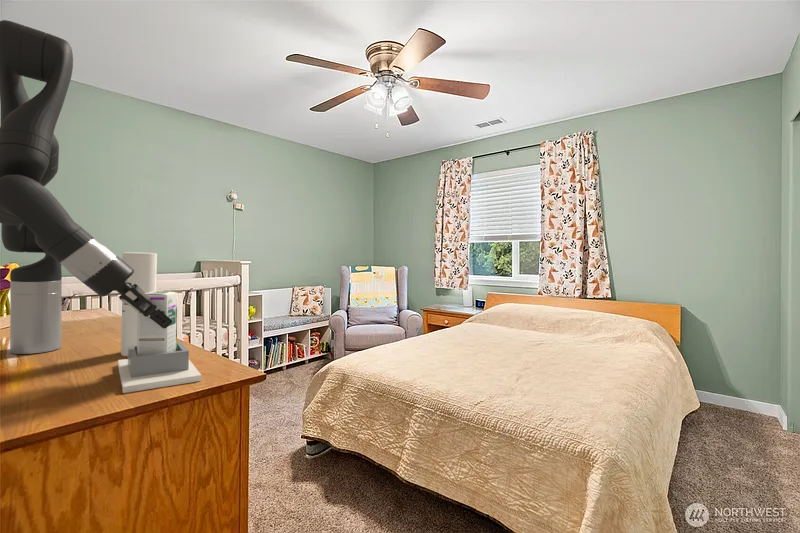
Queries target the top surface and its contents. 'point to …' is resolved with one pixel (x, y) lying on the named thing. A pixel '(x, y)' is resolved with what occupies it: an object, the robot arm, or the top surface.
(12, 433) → the top surface
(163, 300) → the syrup box
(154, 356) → the dock
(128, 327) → the cylindrical container
